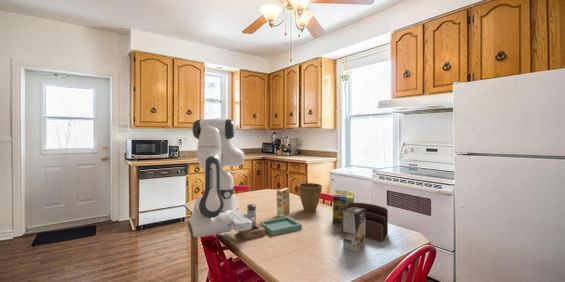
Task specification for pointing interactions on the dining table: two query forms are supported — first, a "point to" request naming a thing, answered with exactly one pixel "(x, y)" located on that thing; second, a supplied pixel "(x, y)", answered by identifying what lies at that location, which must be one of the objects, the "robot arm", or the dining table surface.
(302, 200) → the plant pot
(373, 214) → the letter holder
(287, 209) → the candy box
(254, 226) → the spice jar
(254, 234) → the socket block
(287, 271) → the dining table surface
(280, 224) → the tray
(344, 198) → the protein box
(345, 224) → the coffee box
